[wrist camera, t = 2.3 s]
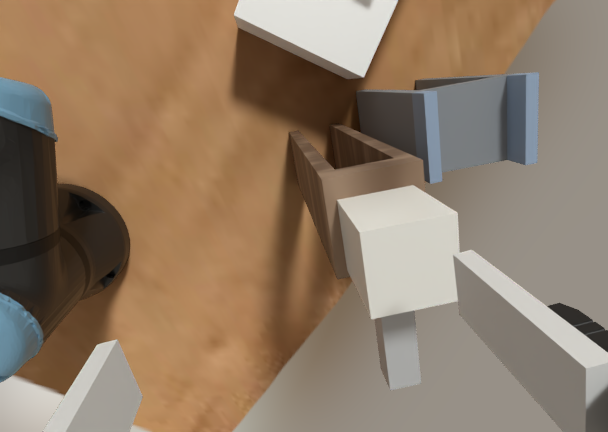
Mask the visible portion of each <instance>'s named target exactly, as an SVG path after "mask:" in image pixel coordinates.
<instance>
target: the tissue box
mask: <svg viewBox="0 0 608 432" xmlns="http://www.w3.org/2000/svg"><path fill="white" fill-rule="evenodd" d="M397 2H398V0H239V2H238V5H237V7H236V10H235V13H234V17H235V20H236V23H237V26H238V28H240V29H242V30H244V31H246V32H249V33H251V34H253V35H255V36H257V37H259V38H261V39H263V40H265V41H268V42H270V43H272V44H274V45H276V46H278V47H280V48H282V49H284V50H286V51H289V52H291V53H293V54H295V55H297V56H299V57H301V58H303V59H305V60H308V61H310V62H312V63H314V64H316V65H318V66H320V67H322V68H324V69H327V70H329V71H331V72H333V73H335V74H337V75H339V76H341V77H343V78H345V79H355V78H364V76H365V74H366V72H367V69H368V67H369V65H370V63H371V60H372V58H373V56H374V54H375V51H376V49H377V47H378V45H379V42H380V40H381V38H382V36H383V33H384V31H385V29H386V27H387V24H388V22H389V20H390V18H391V15H392V13H393V11H394V9H395V6H396V4H397Z"/></svg>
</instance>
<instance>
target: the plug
mask: <svg viewBox="0 0 608 432" xmlns="http://www.w3.org/2000/svg"><path fill="white" fill-rule="evenodd" d="M337 205H338V211H339V218H340V225H341V231H342V238H343V245H344V252H345V258H346V265H347V271H348V273H349V275H350V277H351V279H352V281H353V283H354V285H355V287H356V289H357V291H358V293H359V296H360V297H361V300H362V302H363V304H364V306H365V308H366V310H367V312H368V314H369V316H370V318H371V319H375V327H376V335H377V342H378V350H379V358H380V365H381V370H382V372H383V375H384V377H385V379H386V382H387V384H388V386H389V389H390V390H394V389H398V388H403V387H407V386H412V385H416V384H421V377H420V366H419V357H418V345H417V334H416V323H415V312H414V310H418V309H423V308H427V307H432V306H437V305H441V304H446V303H451V302H456V301H458V297H457V287H456V278H455V269H454V260H453V254H457V253H460V252H459V232H458V213H457V212H455V211H454V210H452V209H451V208H449V207H447V206H446V205H444V204H443V203H441V202H439V201H438V200H436V199H435V198H433V197H431V196H430V195H428V194H427V193H425V192H424V191H422V190H420V189H419V188H417V187H416V186H414V185H411V186H406V187H401V188H396V189H391V190H386V191H381V192H375V193H370V194H365V195H360V196H355V197H350V198H345V199H339V200H337Z"/></svg>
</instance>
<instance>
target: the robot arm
mask: <svg viewBox="0 0 608 432" xmlns="http://www.w3.org/2000/svg"><path fill="white" fill-rule="evenodd" d="M57 141H58V137H57V135H56V134H55V133H54V124H53V115H52V107H51V103H50V100H49V98H48V97H47V96H46V94H45V93H44V92H43V91H42V90H40V89H39V88H37V87H35V86H33V85H31V84H27V83H23V82H20V81H15V80H11V79H6V78H1V77H0V382H2V381H4V380H6V379H8V378H9V377H11V376H12V375H13V374H15V373H16V372H17V371H18V370H19V369H20V368H21V367H22V366H23V365H24V364H25V363H26V362H27V361H28V360H29V359H31V358H33V357H34V356H35V355H36V354H37V353H38V352H39V351H40V348H41V347H42V344H43V343H44V342H45V341H46V340H47V338H48V337H49V336H50V335H51V333H52V332H53V331H54V330H55V329H56V327H57V326H58V325H59V324H60V323H61V321H62V320H63V319H64V318H65V317H66V315H67V314H68V313H69V312H70V311H71V309H72V308H73V307H74V306H75V305H76V303H77V302H78V301H80V300H83V299H85V298H87V297H90V296H92V295H95V294H97V293H99V292H100V291H102V290H103V289H105V288H106V287H108V286H109V285H110V284H111V283H112V282H113V281H114V280H115V279H116V277H117V276H118V275H119V273H120V272H121V271H122V269H123V268H124V266H125V264H126V262H127V259H128V256H129V250H130V239H129V234H128V230H127V227H126V225H125V222H124V220H123V219H122V217H121V215H120V214H119V213H118V211H117V210H116V209H115V208H114V207H113V206H112V205H111V204H110V203H109V202H108V201H107V200H106V199H104V198H103V197H101V196H100V195H98V194H97V193H95V192H93V191H91V190H88V189H86V188H83V187H80V186H76V185H70V184H57V171H56V155H55V142H57ZM453 260H454V269H455V278H456V287H457V297H458V305H459V315H460V316H461V317H462V318H463V319H464V320H465V321H466V323H467V324H468V325H469V326H470V327H471V328H472V329H473V331H474V332H475V333H476V334H477V335H478V336H479V337H480V338H481V340H482V341H483V342H484V343H485V344H486V345H487V346H488V348H489V349H490V350H491V351H492V352H493V353H494V354H495V355H496V357H497V358H498V359H499V360H500V361H501V362H502V363H503V364H504V366H505V367H506V368H507V369H508V370H509V371H510V372H511V373H512V375H513V376H514V377H515V378H516V379H517V380H518V381H519V382H520V383H521V385H522V386H523V387H524V388H525V389H526V390H527V391H528V392H529V394H530V395H531V396H532V397H533V398H534V399H535V401H536V402H537V403H538V404H539V405H540V406H541V407H542V408H543V410H544V411H545V412H546V413H547V414H548V415H549V416H550V417H551V419H552V420H553V421H554V422H555V423H556V424H557V425H558V426H559V428H560V429H561V430H562V431H563V432H608V331H607V330H605V329H604V328H603V327H602V326H601V325H599V324H598V323H596V322H593V321H592V319H590V318H589V317H588V316H586V315H585V314H583V313H582V312H580V311H579V310H577V309H574V308H572V307H569V306H566V305H563V304H561V303H557V304H553V305H550V306H545V305H544V304H543V303H542V302H540V301H539V300H538V299H536V298H535V297H534V296H532V295H531V294H530V293H528V292H527V291H526V290H524V289H523V288H522V287H520V286H519V285H518V284H516V283H515V282H514V281H512V280H511V279H510V278H509V277H507V276H506V275H505V274H503V273H502V272H500V271H499V270H498V269H497V268H495V267H494V266H493V265H491V264H490V263H489V262H487V261H486V260H485V259H484V258H482V257H481V256H480V255H478V254H477V253H476V252H474V251H473V250H469V251H465V252H461V253H457V254H453ZM142 397H143V396H142V394H141V392H140V389H139V387H138V385H137V382H136V380H135V378H134V376H133V373H132V371H131V369H130V367H129V364H128V362H127V360H126V358H125V355H124V353H123V351H122V349H121V346H120V344H119V342H118V339H117V340H113V341H109V342H105V343H101V344H97V346H96V347H95V349H94V350H93V352H92V354H91V355H90V357H89V358H88V360H87V362H86V363H85V365H84V366H83V368H82V369H81V371H80V373H79V374H78V376H77V377H76V379H75V381H74V382H73V384H72V385H71V387H70V389H69V390H68V392H67V393H66V395H65V397H64V398H63V400H62V401H61V403H60V404H59V406H58V408H57V409H56V411H55V413H54V414H53V416H52V417H51V419H50V420H49V422H48V424H47V426H46V427H45V428H44V430H43V431H42V432H130V429H131V427H132V424H133V421H134V419H135V416H136V413H137V411H138V408H139V405H140V403H141V400H142Z"/></svg>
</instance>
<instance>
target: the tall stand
mask: <svg viewBox="0 0 608 432" xmlns="http://www.w3.org/2000/svg"><path fill="white" fill-rule="evenodd" d="M330 132H331V139H332V146H333V153H334V160H335V167H336V169H334V168H333V167H332V166H331V165H330V164H329V163H328V162H327V161H326V160H325V159H324V158H323V157H322V155H321V154H320V153H319V152H318V151H317V150H316V149H315V148H314V147H313V146H312V145H311V144H310V143H309V142H308V140H307V139H306V138H305V137H304V136H303V135H302V134H301V133H300V132H299V131H293V132H289V135H290V141H291V146H292V152H293V158H294V163H295V169H296V174H297V180H298V185H299V187H300V190H301V192H302V195H303V197H304V200H305V202H306V204H307V207H308V209H309V212H310V214H311V216H312V219H313V221H314V224H315V226H316V229H317V231H318V233H319V236H320V238H321V241H322V243H323V246H324V248H325V250H326V253H327V255H328V258H329V260H330V263H331V265H332V267H333V270H334V272H335V275H336V277H337V279H342V278H346V277H350V275H349V273H348V271H347V265H346V258H345V252H344V245H343V238H342V231H341V225H340V218H339V211H338V205H337V200H339V199H345V198H350V197H355V196H360V195H365V194H370V193H375V192H381V191H386V190H391V189H396V188H401V187H406V186H411V185H414V186H416V187H417V188H419V189H420V190H422V191H424V192H425V180H424V167H423V160H422V159H420V158H417V157H415V156H413V155H411V154H408V153H406V152H404V151H401V150H399V149H397V148H395V147H392V146H390V145H388V144H385V143H383V142H381V141H378V140H376V139H374V138H372V137H369V136H367V135H365V134H362V133H360V132H358V131H356V130H353V129H351V128H349V127H346V126H344V125H342V124H340V123H336V124H331V125H330Z"/></svg>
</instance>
